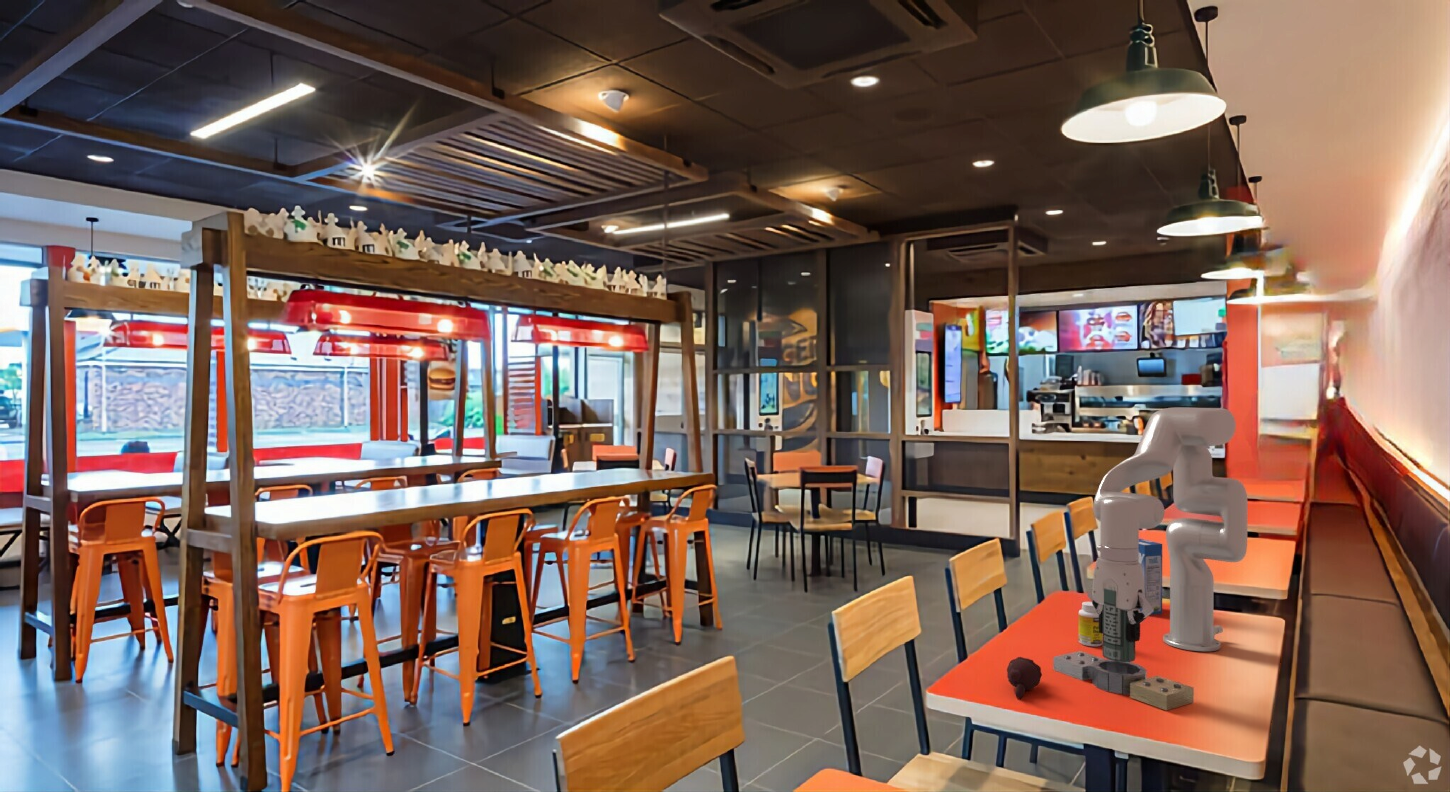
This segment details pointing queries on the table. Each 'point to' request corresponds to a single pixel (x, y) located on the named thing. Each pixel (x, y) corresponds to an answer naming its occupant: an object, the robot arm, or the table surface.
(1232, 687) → the table surface
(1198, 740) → the table surface
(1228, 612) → the table surface
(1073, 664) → the leaf fixed
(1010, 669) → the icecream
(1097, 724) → the table surface
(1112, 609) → the can
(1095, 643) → the supplement bottle
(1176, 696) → the tan studded block
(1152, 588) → the milk carton
